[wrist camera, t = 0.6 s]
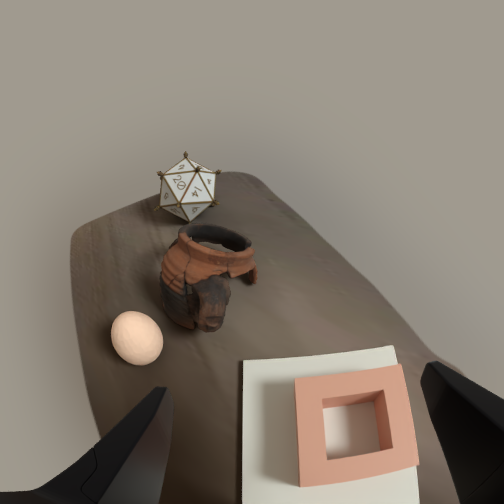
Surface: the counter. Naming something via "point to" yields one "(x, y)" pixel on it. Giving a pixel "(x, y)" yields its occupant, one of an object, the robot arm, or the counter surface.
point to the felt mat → (336, 434)
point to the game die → (187, 189)
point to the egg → (136, 338)
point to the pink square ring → (349, 393)
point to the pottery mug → (203, 274)
